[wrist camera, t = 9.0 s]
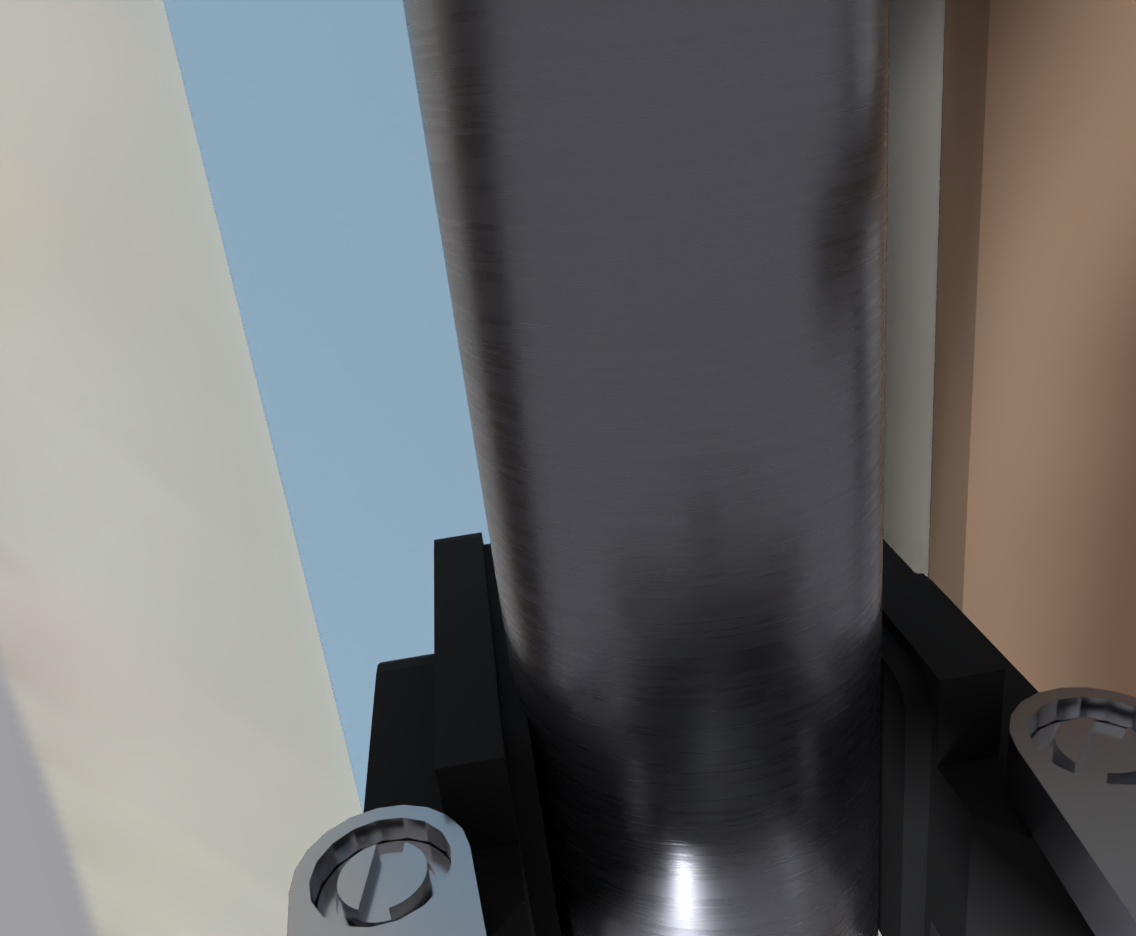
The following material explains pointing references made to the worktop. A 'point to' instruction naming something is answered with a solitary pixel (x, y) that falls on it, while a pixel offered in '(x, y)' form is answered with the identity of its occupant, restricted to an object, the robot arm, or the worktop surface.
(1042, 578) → the rack
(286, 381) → the mat
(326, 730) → the worktop surface
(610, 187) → the rod
